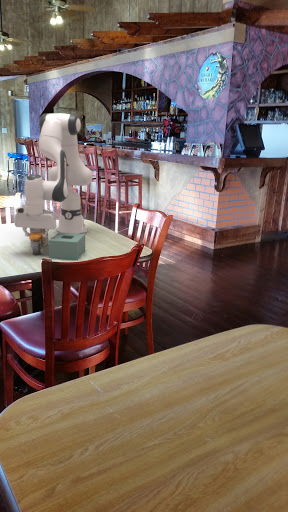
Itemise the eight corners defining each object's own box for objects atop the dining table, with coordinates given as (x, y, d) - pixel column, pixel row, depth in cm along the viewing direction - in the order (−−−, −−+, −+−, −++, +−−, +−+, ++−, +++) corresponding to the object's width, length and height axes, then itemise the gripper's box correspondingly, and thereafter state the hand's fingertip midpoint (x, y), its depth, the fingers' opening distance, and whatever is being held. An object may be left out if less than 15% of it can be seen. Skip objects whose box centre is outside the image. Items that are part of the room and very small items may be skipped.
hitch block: (59, 248, 219) (58, 232, 216) (85, 250, 217) (85, 234, 214) (49, 258, 203) (48, 240, 201) (77, 260, 202) (76, 242, 199)
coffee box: (37, 242, 228) (36, 213, 224) (48, 243, 227) (47, 214, 222) (30, 247, 220) (28, 217, 215) (41, 248, 219) (40, 218, 214)
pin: (32, 251, 212) (32, 231, 209) (45, 252, 212) (44, 232, 209) (27, 255, 206) (27, 234, 203) (40, 256, 205) (40, 235, 202)
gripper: (57, 209, 204) (58, 236, 208) (17, 206, 206) (19, 233, 210) (53, 211, 198) (54, 239, 202) (12, 209, 200) (13, 237, 204)
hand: (36, 236), depth 206 cm, fingers open, 8 cm apart
